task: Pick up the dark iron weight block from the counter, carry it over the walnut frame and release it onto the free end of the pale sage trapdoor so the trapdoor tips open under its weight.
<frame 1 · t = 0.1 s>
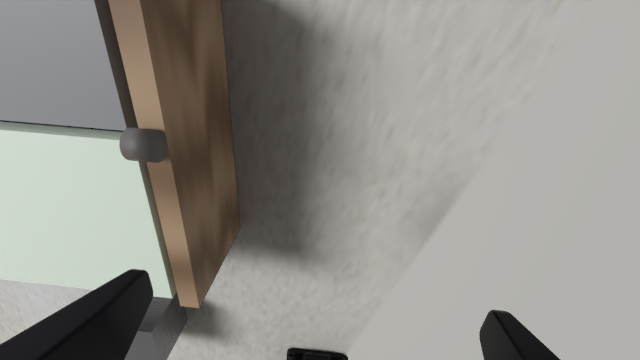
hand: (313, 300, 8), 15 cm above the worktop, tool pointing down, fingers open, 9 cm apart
trapdoor: (33, 148, 17), point 6 cm above the worktop, hinge at 0.0°
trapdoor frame: (99, 86, 21), on the worktop
iron weight: (160, 301, 32), on the worktop
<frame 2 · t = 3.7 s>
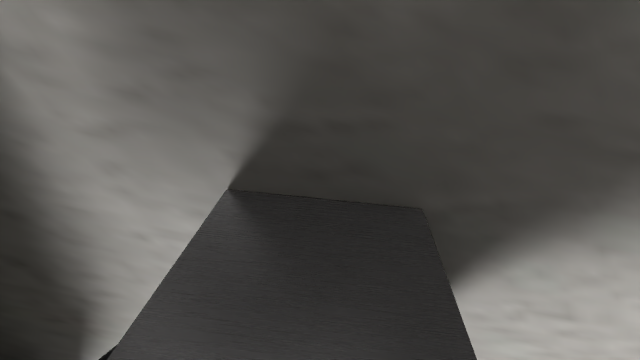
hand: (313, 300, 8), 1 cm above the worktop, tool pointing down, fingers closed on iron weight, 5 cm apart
iron weight: (317, 271, 9), on the worktop, touching gripper
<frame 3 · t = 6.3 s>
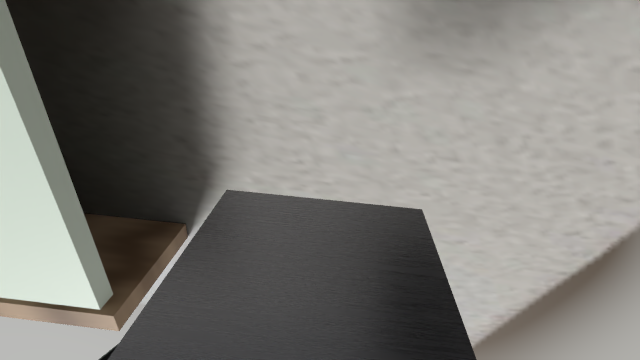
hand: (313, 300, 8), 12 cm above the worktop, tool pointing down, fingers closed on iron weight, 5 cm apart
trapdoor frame: (0, 106, 20), on the worktop
iron weight: (317, 271, 9), point 11 cm above the worktop, touching gripper
when the fingers open (11 cm above the worktop, at t = 9.4 s): iron weight drops 2 cm, resting on trapdoor.
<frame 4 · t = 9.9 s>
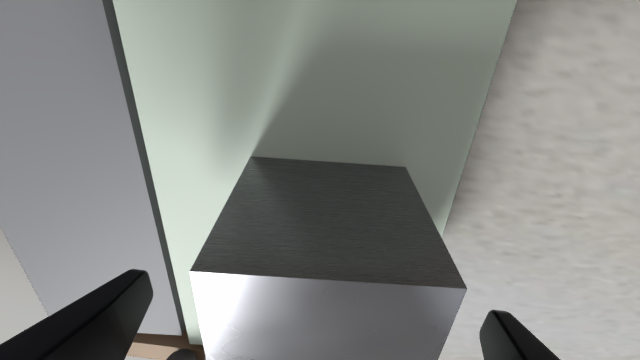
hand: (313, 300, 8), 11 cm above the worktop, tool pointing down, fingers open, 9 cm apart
trapdoor: (229, 187, 13), point 6 cm above the worktop, hinge at -3.8°, touching iron weight
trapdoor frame: (230, 135, 18), on the worktop
iron weight: (322, 224, 11), point 8 cm above the worktop, touching trapdoor
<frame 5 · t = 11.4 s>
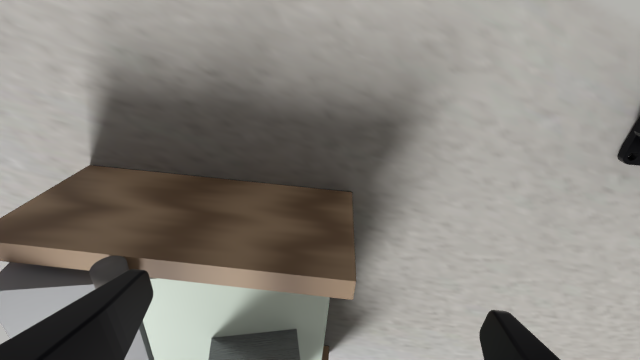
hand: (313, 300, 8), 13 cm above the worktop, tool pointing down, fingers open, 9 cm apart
trapdoor: (196, 334, 21), point 5 cm above the worktop, hinge at -13.9°, touching iron weight
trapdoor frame: (205, 272, 26), on the worktop
iron weight: (255, 358, 20), point 7 cm above the worktop, tilted 14°, touching trapdoor
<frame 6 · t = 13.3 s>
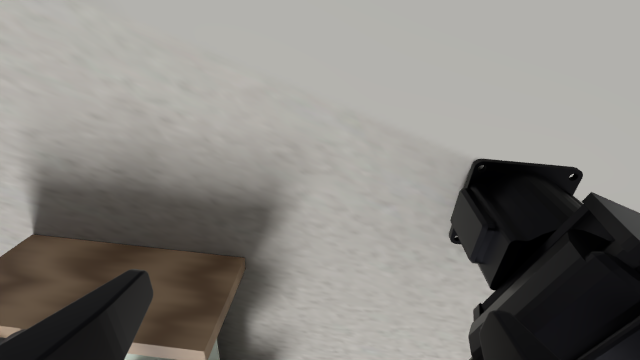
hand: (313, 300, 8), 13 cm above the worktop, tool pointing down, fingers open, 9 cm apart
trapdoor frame: (139, 315, 30), on the worktop
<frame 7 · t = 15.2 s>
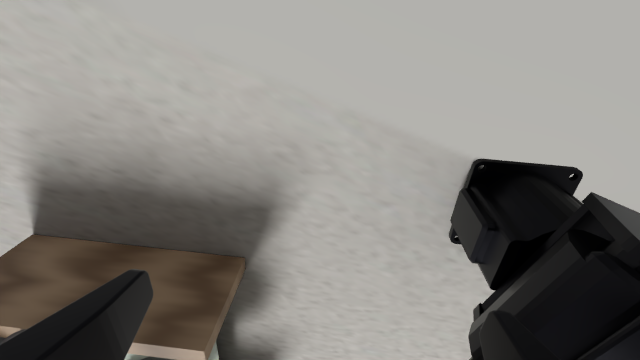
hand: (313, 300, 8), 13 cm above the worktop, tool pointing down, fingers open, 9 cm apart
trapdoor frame: (139, 315, 30), on the worktop
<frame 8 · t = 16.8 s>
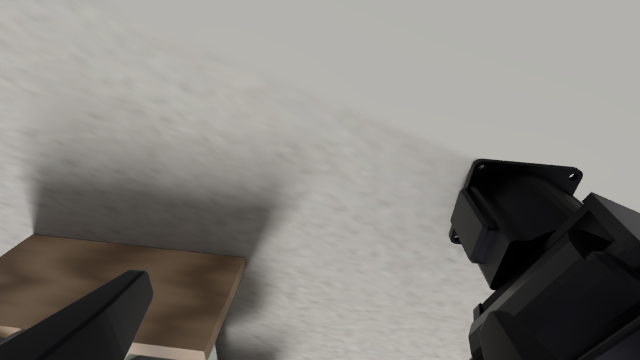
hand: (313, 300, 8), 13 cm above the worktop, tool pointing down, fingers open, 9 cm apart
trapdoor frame: (139, 315, 30), on the worktop
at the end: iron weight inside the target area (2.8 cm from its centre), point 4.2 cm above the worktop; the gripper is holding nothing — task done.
